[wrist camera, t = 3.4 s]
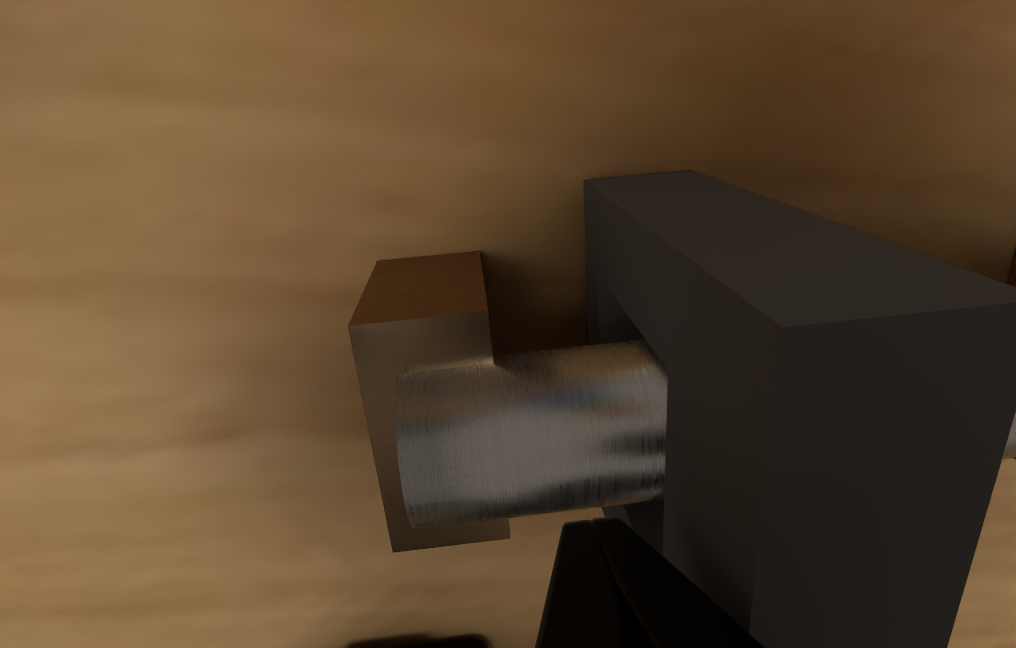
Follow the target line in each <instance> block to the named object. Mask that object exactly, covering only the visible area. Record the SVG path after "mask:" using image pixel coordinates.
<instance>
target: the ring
mask: <svg viewBox="0 0 1016 648" xmlns="http://www.w3.org/2000/svg"><path fill="white" fill-rule="evenodd" d="M584 213H585V248H586V283H587V318H588V345H596V344H606V343H615V342H625V341H634V340H643V339H646V340H647V342H648V343H649V344H650V346H651V347H652V348H653V350H654V351H655V352H656V354H657V355H658V356H659V358H660V359H661V360H662V362H663V363H664V364H665V366H666V367H667V368H668V385H667V419H666V453H665V488H664V499H663V500H655V501H646V502H638V503H629V504H621V505H613V506H604V507H602V509H603V512H604V515H605V517H612V516H618V517H620V518H622V519H623V520H624V521H625V522H626V523H627V524H628V525H629V526H631V527H632V528H633V529H634V530H635V531H636V532H637V533H638V534H639V535H641V536H642V537H643V538H644V539H645V540H646V541H647V542H648V543H649V544H651V545H652V546H653V547H654V548H655V549H656V550H657V551H658V552H659V553H661V554H662V555H663V556H664V557H665V558H666V559H667V560H668V561H669V562H671V563H672V564H673V565H674V566H675V567H676V568H677V569H678V570H679V571H681V572H682V573H683V574H684V575H685V576H686V577H687V578H688V579H689V580H691V581H692V582H693V583H694V584H695V585H696V586H697V587H698V588H699V589H701V590H702V591H703V592H704V593H705V594H706V595H707V596H708V597H709V598H711V599H712V600H713V601H714V602H715V603H716V604H717V605H718V606H719V607H721V608H722V609H723V610H724V611H725V612H726V613H727V614H728V615H729V616H731V617H732V618H733V619H734V620H735V621H736V622H737V623H738V624H739V625H741V626H742V627H743V628H744V629H745V630H746V631H747V632H748V633H749V634H751V635H752V636H753V637H754V638H755V639H756V640H757V641H758V642H759V643H760V644H762V645H763V646H764V647H765V648H947V646H948V642H949V639H950V636H951V632H952V629H953V625H954V622H955V618H956V615H957V612H958V608H959V605H960V601H961V598H962V594H963V591H964V587H965V584H966V581H967V577H968V574H969V570H970V567H971V563H972V560H973V557H974V553H975V550H976V546H977V543H978V539H979V536H980V533H981V529H982V526H983V522H984V519H985V515H986V512H987V509H988V505H989V502H990V498H991V495H992V491H993V488H994V485H995V481H996V478H997V474H998V471H999V467H1000V464H1001V461H1002V457H1003V454H1004V450H1005V447H1006V443H1007V440H1008V437H1009V433H1010V430H1011V426H1012V423H1013V419H1014V416H1015V412H1016V287H1014V286H1011V285H1008V284H1006V283H1003V282H1000V281H997V280H994V279H992V278H989V277H986V276H983V275H981V274H978V273H975V272H972V271H969V270H967V269H964V268H961V267H958V266H956V265H953V264H950V263H947V262H944V261H942V260H939V259H936V258H933V257H931V256H928V255H925V254H922V253H919V252H917V251H914V250H911V249H908V248H906V247H903V246H900V245H897V244H894V243H892V242H889V241H886V240H883V239H881V238H878V237H875V236H872V235H869V234H867V233H864V232H861V231H858V230H856V229H853V228H850V227H847V226H844V225H842V224H839V223H836V222H833V221H831V220H828V219H825V218H822V217H819V216H817V215H814V214H811V213H808V212H806V211H803V210H800V209H797V208H794V207H792V206H789V205H786V204H783V203H781V202H778V201H775V200H772V199H769V198H767V197H764V196H761V195H758V194H755V193H753V192H750V191H747V190H744V189H742V188H739V187H736V186H733V185H730V184H728V183H725V182H722V181H719V180H717V179H714V178H711V177H708V176H705V175H703V174H700V173H697V172H694V171H692V170H687V171H676V172H665V173H655V174H644V175H633V176H622V177H612V178H601V179H590V180H584Z"/></svg>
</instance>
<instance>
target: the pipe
mask: <svg viewBox="0 0 1016 648" xmlns="http://www.w3.org/2000/svg"><path fill="white" fill-rule="evenodd" d="M1008 285H1011V286H1014V287H1016V254H1015V258H1014V262H1013V266H1012V270H1011V273H1010V277H1009V281H1008ZM348 328H349V333H350V338H351V343H352V348H353V353H354V358H355V363H356V369H357V374H358V379H359V384H360V389H361V394H362V399H363V404H364V409H365V414H366V419H367V424H368V429H369V434H370V439H371V444H372V449H373V455H374V460H375V465H376V470H377V475H378V480H379V485H380V490H381V495H382V500H383V505H384V510H385V515H386V520H387V525H388V530H389V535H390V540H391V546H392V551H393V552H401V551H410V550H418V549H426V548H435V547H443V546H451V545H459V544H468V543H476V542H484V541H493V540H501V539H509V538H510V529H509V519H508V518H512V517H520V516H529V515H537V514H545V513H554V512H562V511H571V510H579V509H587V508H596V507H604V506H613V505H621V504H629V503H638V502H646V501H655V500H663V499H664V488H665V453H666V419H667V385H668V368H667V367H666V366H665V364H664V363H663V362H662V360H661V359H660V358H659V356H658V355H657V354H656V352H655V351H654V350H653V348H652V347H651V346H650V344H649V343H648V342H647V340H646V339H643V340H634V341H625V342H615V343H606V344H596V345H587V346H577V347H568V348H559V349H549V350H540V351H530V352H521V353H511V354H502V355H493V356H492V345H491V335H490V325H489V315H488V307H487V300H486V292H485V285H484V278H483V271H482V264H481V257H480V251H475V252H465V253H455V254H445V255H434V256H424V257H414V258H404V259H393V260H383V261H377V263H376V265H375V267H374V269H373V272H372V274H371V276H370V278H369V281H368V283H367V285H366V287H365V289H364V292H363V294H362V296H361V298H360V300H359V303H358V305H357V307H356V309H355V312H354V314H353V316H352V318H351V320H350V323H349V325H348ZM1008 458H1013V459H1016V412H1015V416H1014V419H1013V423H1012V426H1011V430H1010V433H1009V437H1008V440H1007V443H1006V447H1005V450H1004V454H1003V457H1002V459H1008Z"/></svg>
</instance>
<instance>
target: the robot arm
mask: <svg viewBox="0 0 1016 648" xmlns="http://www.w3.org/2000/svg"><path fill="white" fill-rule="evenodd" d="M407 648H488V645H487V644H486V643H485V642H484V641H481V640H478V639H470V640H462V641H454V642H446V643H439V644H431V645H423V646H415V647H407ZM535 648H765V647H764V646H763V645H762V644H760V643H759V642H758V641H757V640H756V639H755V638H754V637H753V636H752V635H751V634H749V633H748V632H747V631H746V630H745V629H744V628H743V627H742V626H741V625H739V624H738V623H737V622H736V621H735V620H734V619H733V618H732V617H731V616H729V615H728V614H727V613H726V612H725V611H724V610H723V609H722V608H721V607H719V606H718V605H717V604H716V603H715V602H714V601H713V600H712V599H711V598H709V597H708V596H707V595H706V594H705V593H704V592H703V591H702V590H701V589H699V588H698V587H697V586H696V585H695V584H694V583H693V582H692V581H691V580H689V579H688V578H687V577H686V576H685V575H684V574H683V573H682V572H681V571H679V570H678V569H677V568H676V567H675V566H674V565H673V564H672V563H671V562H669V561H668V560H667V559H666V558H665V557H664V556H663V555H662V554H661V553H659V552H658V551H657V550H656V549H655V548H654V547H653V546H652V545H651V544H649V543H648V542H647V541H646V540H645V539H644V538H643V537H642V536H641V535H639V534H638V533H637V532H636V531H635V530H634V529H633V528H632V527H631V526H629V525H628V524H627V523H626V522H625V521H624V520H623V519H622V518H620V517H618V516H612V517H604V518H596V519H593V520H592V521H590V520H581V521H573V522H567V523H565V524H564V525H563V527H562V532H561V536H560V540H559V545H558V549H557V553H556V558H555V562H554V567H553V571H552V575H551V580H550V584H549V589H548V593H547V597H546V602H545V606H544V611H543V615H542V619H541V624H540V628H539V632H538V637H537V641H536V646H535Z"/></svg>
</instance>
